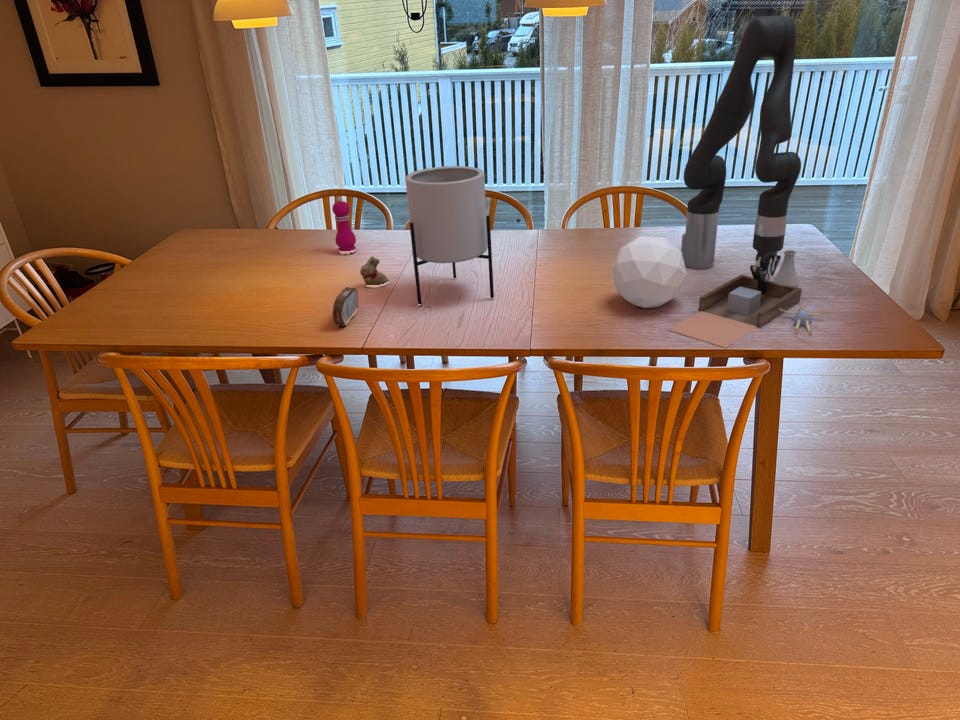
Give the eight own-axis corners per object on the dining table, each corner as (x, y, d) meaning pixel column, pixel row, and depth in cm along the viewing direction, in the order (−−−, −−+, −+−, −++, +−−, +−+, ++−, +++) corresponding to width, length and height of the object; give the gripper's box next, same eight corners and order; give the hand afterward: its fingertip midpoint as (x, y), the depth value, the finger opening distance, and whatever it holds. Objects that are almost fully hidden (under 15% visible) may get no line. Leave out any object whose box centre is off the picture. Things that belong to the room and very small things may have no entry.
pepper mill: (341, 249, 252) (332, 194, 243) (360, 249, 251) (352, 194, 242) (334, 255, 246) (325, 200, 237) (354, 255, 245) (346, 199, 236)
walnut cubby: (698, 310, 186) (699, 297, 184) (739, 287, 198) (741, 274, 196) (760, 328, 174) (762, 313, 172) (799, 302, 187) (801, 288, 185)
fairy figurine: (779, 321, 169) (778, 298, 179) (777, 338, 172) (776, 314, 181) (831, 325, 166) (827, 301, 175) (827, 342, 168) (824, 317, 178)
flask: (801, 289, 194) (806, 256, 190) (773, 289, 196) (778, 255, 191) (796, 280, 201) (801, 247, 196) (769, 280, 202) (774, 247, 198)
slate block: (726, 310, 184) (728, 293, 182) (738, 303, 188) (740, 286, 186) (748, 316, 180) (750, 298, 178) (759, 309, 184) (761, 291, 182)
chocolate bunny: (367, 282, 220) (363, 252, 215) (391, 282, 218) (387, 252, 214) (361, 288, 215) (357, 257, 211) (385, 289, 214) (381, 258, 209)
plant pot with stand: (441, 276, 220) (431, 163, 204) (510, 285, 210) (505, 166, 194) (402, 304, 202) (387, 182, 185) (475, 315, 192) (466, 186, 175)
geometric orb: (665, 328, 193) (707, 285, 177) (601, 312, 187) (639, 267, 172) (656, 276, 203) (696, 231, 188) (595, 259, 198) (631, 212, 182)
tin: (351, 309, 201) (347, 282, 197) (361, 309, 200) (358, 282, 196) (334, 331, 187) (329, 302, 184) (345, 331, 187) (340, 302, 183)
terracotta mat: (668, 330, 176) (668, 329, 176) (700, 311, 185) (701, 310, 185) (725, 348, 165) (726, 347, 165) (757, 327, 174) (757, 326, 174)
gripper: (767, 223, 187) (760, 283, 195) (743, 234, 179) (736, 297, 187) (795, 227, 182) (786, 289, 190) (771, 239, 174) (763, 303, 182)
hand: (761, 293), depth 188 cm, fingers closed
